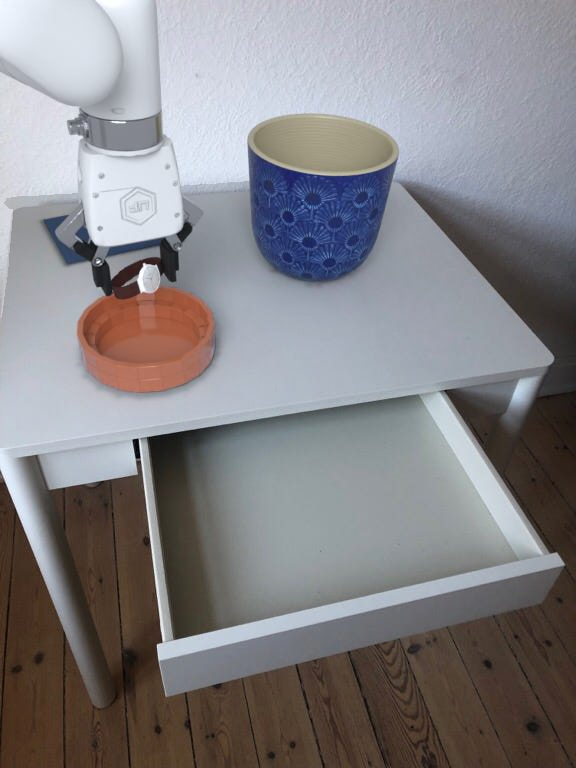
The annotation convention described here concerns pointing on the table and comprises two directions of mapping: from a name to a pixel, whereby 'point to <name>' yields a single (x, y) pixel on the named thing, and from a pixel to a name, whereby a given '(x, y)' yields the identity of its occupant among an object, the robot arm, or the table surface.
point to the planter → (318, 192)
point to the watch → (146, 281)
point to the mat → (83, 233)
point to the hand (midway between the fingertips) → (137, 282)
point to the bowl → (147, 339)
